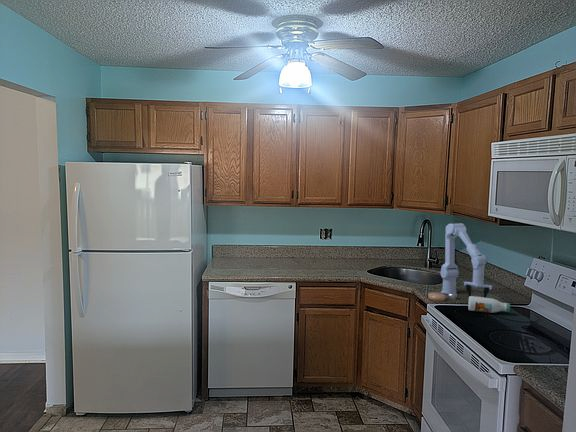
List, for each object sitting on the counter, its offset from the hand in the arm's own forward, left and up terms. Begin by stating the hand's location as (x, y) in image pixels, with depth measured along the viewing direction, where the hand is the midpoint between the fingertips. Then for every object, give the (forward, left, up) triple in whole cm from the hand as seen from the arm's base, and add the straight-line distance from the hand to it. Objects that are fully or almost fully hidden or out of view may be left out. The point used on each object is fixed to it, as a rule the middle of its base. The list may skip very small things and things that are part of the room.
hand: (477, 299), depth 243 cm
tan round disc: (+5, -21, -2) cm, 22 cm away
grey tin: (-2, -14, -3) cm, 14 cm away
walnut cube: (0, 0, -3) cm, 3 cm away
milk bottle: (+15, -1, +1) cm, 16 cm away
